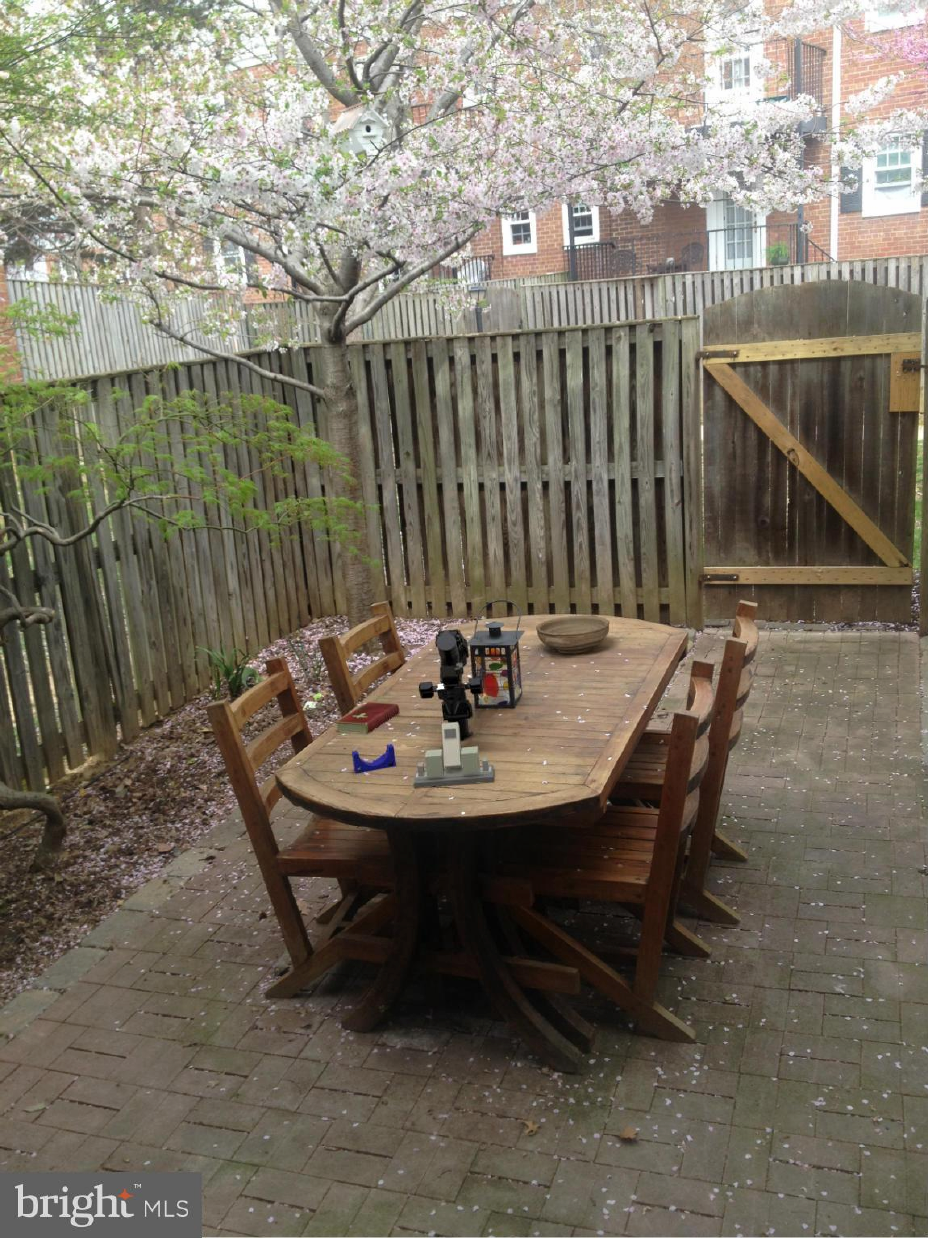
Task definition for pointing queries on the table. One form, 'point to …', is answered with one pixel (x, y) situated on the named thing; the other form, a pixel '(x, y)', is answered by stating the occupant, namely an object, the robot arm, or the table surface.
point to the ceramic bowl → (573, 633)
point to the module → (451, 745)
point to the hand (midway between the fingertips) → (452, 713)
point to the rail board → (453, 769)
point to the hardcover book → (367, 717)
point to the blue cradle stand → (374, 761)
